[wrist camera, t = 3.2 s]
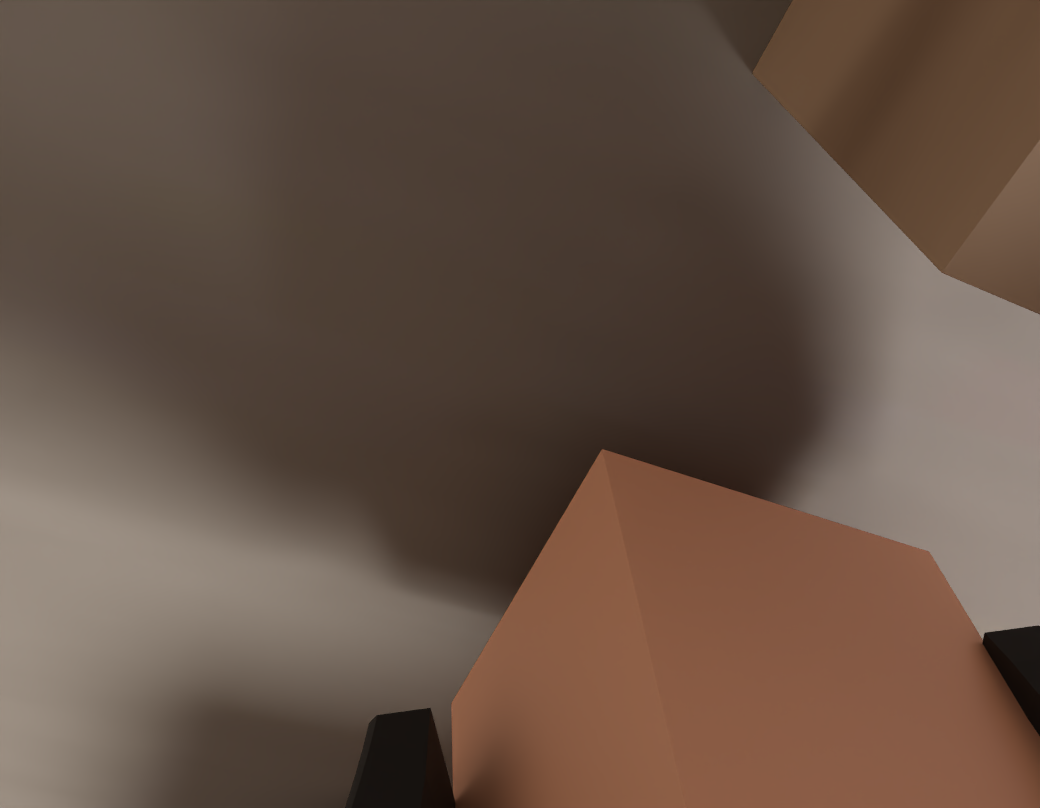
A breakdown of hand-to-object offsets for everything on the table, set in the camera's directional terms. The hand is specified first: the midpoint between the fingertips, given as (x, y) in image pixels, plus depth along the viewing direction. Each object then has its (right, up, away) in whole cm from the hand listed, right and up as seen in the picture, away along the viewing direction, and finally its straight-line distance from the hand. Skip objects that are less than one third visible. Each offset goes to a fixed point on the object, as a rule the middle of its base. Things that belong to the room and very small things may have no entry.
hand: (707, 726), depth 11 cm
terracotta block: (0, +1, +1) cm, 2 cm away
